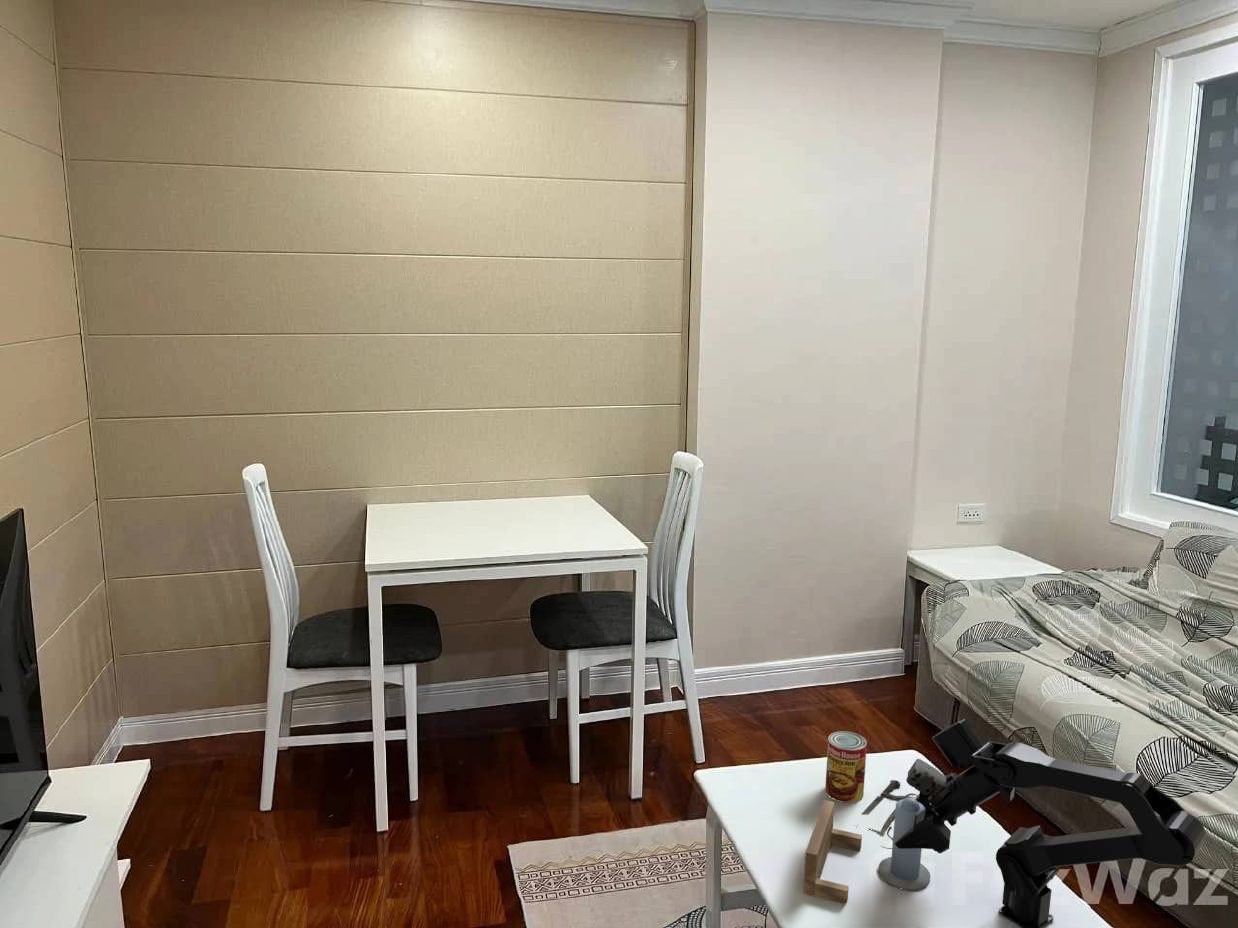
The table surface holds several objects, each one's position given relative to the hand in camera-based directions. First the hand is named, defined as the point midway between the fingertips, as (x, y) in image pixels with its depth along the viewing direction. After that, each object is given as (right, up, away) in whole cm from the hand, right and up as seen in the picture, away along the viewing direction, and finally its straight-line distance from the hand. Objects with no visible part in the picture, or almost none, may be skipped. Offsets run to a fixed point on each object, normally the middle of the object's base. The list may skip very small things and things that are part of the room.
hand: (899, 831), depth 168 cm
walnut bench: (-11, -8, +3) cm, 14 cm away
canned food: (-3, -3, +28) cm, 28 cm away
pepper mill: (+1, -8, +1) cm, 8 cm away
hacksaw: (+5, -5, +20) cm, 22 cm away
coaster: (+1, -8, +1) cm, 8 cm away
